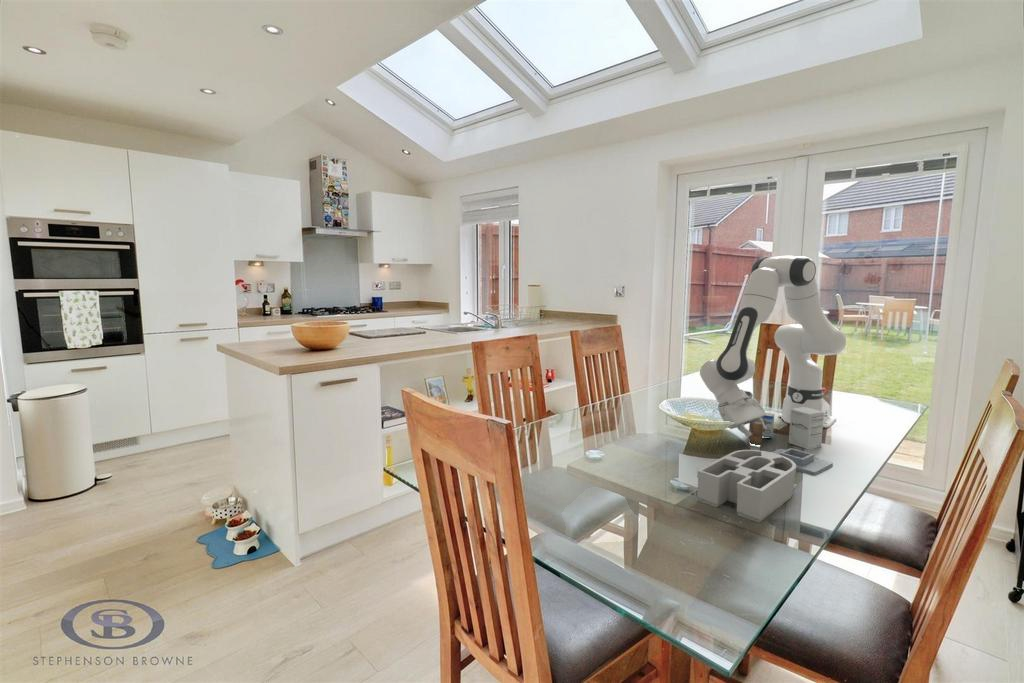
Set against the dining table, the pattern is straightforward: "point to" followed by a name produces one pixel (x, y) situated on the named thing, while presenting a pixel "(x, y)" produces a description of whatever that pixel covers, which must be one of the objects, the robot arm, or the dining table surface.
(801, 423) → the supplement box
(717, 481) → the grey compartment organizer
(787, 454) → the hub plate
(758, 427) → the knob
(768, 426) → the medicine box
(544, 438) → the dining table surface
